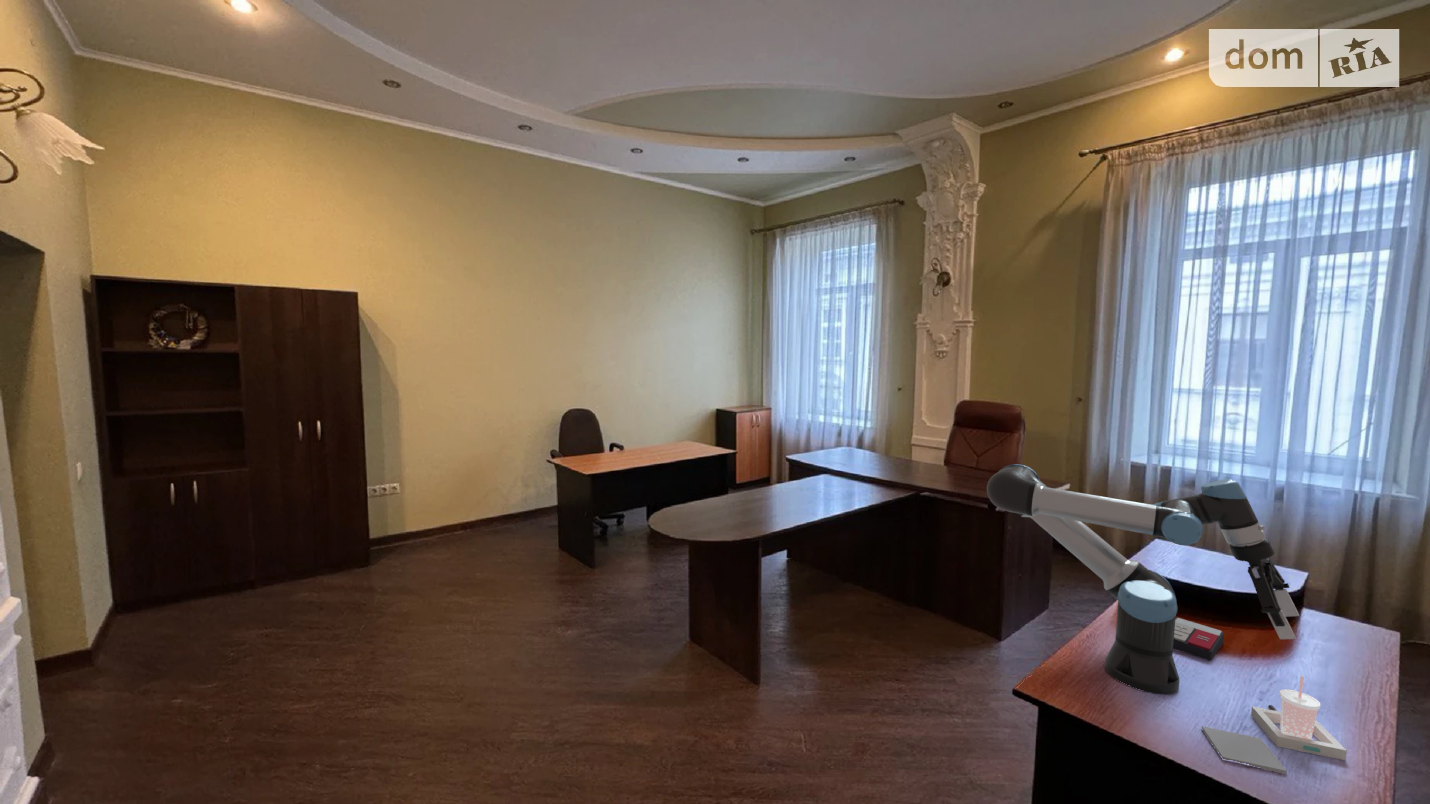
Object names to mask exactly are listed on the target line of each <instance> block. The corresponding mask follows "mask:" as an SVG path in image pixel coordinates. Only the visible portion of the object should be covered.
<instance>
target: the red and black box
mask: <svg viewBox="0 0 1430 804" xmlns="http://www.w3.org/2000/svg"><path fill="white" fill-rule="evenodd" d="M1224 636H1225V632H1224V631H1222V630H1220V629H1217V628H1213V627H1211V626H1207V625H1203V624H1200V623H1197V622H1194V621H1191V620H1190V621H1189V620H1186V619H1184V618H1180V617H1176V619H1175V631H1174V642H1173V650H1177V651H1179V652H1182V653H1185V654H1189V655H1192V656H1194V657H1197V658H1201V659H1204V660H1207V661H1209V662H1211V661H1212V660H1213V659H1214V657H1215V656H1216V654H1217V653H1218V651H1219V650H1220V649H1221V647H1222V646H1223V644H1224V640H1225V639H1224Z"/></svg>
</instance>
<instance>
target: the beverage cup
mask: <svg viewBox="0 0 1430 804" xmlns="http://www.w3.org/2000/svg"><path fill="white" fill-rule="evenodd" d="M1304 678H1305V676H1304V675H1301V674H1300V678H1299V687H1298V691H1297V690H1294V689H1288V688H1287V689H1286V688H1285V689H1281V690H1279V697H1280V712H1281V724H1280V731H1281V733H1282V734H1285V735H1290V736H1295V737H1300V738H1305V739H1310V740H1313V730H1314V726H1315V721H1316V720H1317V716H1318V711H1319V710H1320V709H1321V702H1320V701H1319V700H1318V699H1316V698H1315V697H1313V696H1311V695H1309V694H1307V693H1304V692H1303V690H1304V689H1303V686H1304Z"/></svg>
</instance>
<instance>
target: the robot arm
mask: <svg viewBox="0 0 1430 804" xmlns="http://www.w3.org/2000/svg"><path fill="white" fill-rule="evenodd" d="M1200 490H1201V493H1199V494H1195V495H1194V494H1193V495H1190V496H1184V497H1178V498H1175V499H1169V500H1162V501H1161V502H1156V503H1152V504H1149V503H1143V502H1138V501H1137V502H1136V501H1131V500H1124V499H1120V498H1119V499H1118V498H1114V497H1113V498H1112V497H1109V496H1108V497H1106V496H1101V495H1095V494H1089V493H1082V492H1077V491H1071V490H1065V489H1060V488H1052V487H1048V486H1047V485H1046V484H1045V483H1044V482H1042V481H1041V480H1040V477H1039V475H1038V474H1037V472H1036V471H1035V470H1034V469H1032V468H1031V467H1029V466H1028V465H1024V464H1019V463H1018V464H1016V463H1015V464H1009V465H1006V466H1004V467H1002V468H1001V469H1000V470H998V472H996V473H995V474H993V475H992V476H991V477H990V478H989V480H988V481H987V485H986V493H987V497H988V499H989V501H990V502H991V503H992V504H993V506H995V507H997V509H1000V510H1003V511H1006V512H1009V513H1015V514H1018V515H1019V516H1021V518H1030V519H1032V520H1033V521H1034V522H1035V523H1036V524H1038V526H1039V527H1040V528H1042V529H1043V530H1044V531H1046V532H1047V533H1048V534H1049V535H1050V536H1051V537H1053V538H1054V539H1055V541H1057V542H1058V543H1059V544H1061V546H1063V547H1064V548H1065V549H1066V550H1067V551H1069V552H1070V553H1071V554H1072V555H1073V556H1074V557H1076V558H1077V559H1078V561H1080V562H1081V563H1082V564H1083V565H1085V566H1086V567H1087V568H1088V569H1090V570H1091V571H1092V572H1093V573H1094V574H1095V575H1096V576H1097V577H1099V578H1100V579H1101V580H1102V582H1103V587H1104V590H1105V591H1107V592H1108V593H1109V594H1110V595H1111V596H1112V597H1114V599H1116V600H1117V611H1116V624H1115V625H1116V626H1115V638H1114V639H1115V640H1114V642H1113V644H1112V645H1111V647H1110V649H1109V651H1108V653H1107V655H1106V656H1105V663H1104V664H1105V665H1104V668H1106V669H1105V670H1107V671H1106V672H1107V673H1108V675H1110V676H1111V675H1112V676H1113V677H1114V678H1113V677H1112V676H1111V677H1112V678H1113V679H1115V678H1116V679H1117V680H1116V679H1115V680H1116V681H1118V680H1119V681H1118V682H1120V681H1121V682H1123V683H1125V684H1127V685H1126V686H1128V685H1130V686H1131V688H1133V687H1134V688H1133V689H1135V688H1137V689H1136V690H1138V689H1140V690H1139V691H1141V690H1142V691H1143V692H1145V693H1149V692H1151V694H1155V695H1171V694H1175V693H1177V692H1178V691H1179V688H1180V682H1181V681H1180V676H1179V673H1178V669H1177V666H1176V664H1175V659H1174V657H1173V654H1174V653H1173V652H1174V649H1173V642H1174V631H1175V619H1176V618H1177V616H1176V615H1177V613H1178V604H1177V598H1176V593H1175V591H1174V589H1173V587H1172V585H1171V583H1170V582H1169V581H1168V580H1167V579H1166V578H1165V577H1164V576H1163V575H1161V574H1160V573H1159V572H1157V571H1155V570H1152V569H1148V568H1147V567H1146V566H1144V565H1143V564H1142V563H1141V562H1139V561H1138V560H1133V559H1127V558H1126V557H1125V556H1124V555H1122V554H1121V553H1120V552H1119V551H1117V549H1115V548H1114V547H1113V546H1111V545H1110V544H1109V543H1108V542H1107V541H1105V539H1103V538H1102V537H1101V536H1100V535H1099V534H1097V533H1096V532H1094V531H1093V530H1092V529H1091V528H1090V527H1088V526H1087V525H1086V524H1085V523H1087V524H1090V525H1091V524H1094V525H1098V526H1102V527H1108V528H1114V529H1118V530H1123V531H1129V532H1134V533H1139V534H1145V535H1150V536H1156V537H1159V538H1165V539H1166V540H1168V541H1169V542H1172V543H1173V544H1176V545H1180V546H1189V545H1193V544H1196V543H1197V542H1199V541H1200V540H1201V538H1202V535H1203V532H1204V527H1203V526H1204V525H1209V524H1213V523H1217V525H1218V526H1219V527H1218V528H1219V529H1220V531H1221V533H1222V535H1223V537H1224V539H1225V541H1226V542H1225V543H1227V544H1229V549H1230V551H1231V553H1232V555H1233V557H1234V559H1235V560H1237V561H1239V562H1247V563H1248V565H1249V566H1247V568H1248V569H1247V573H1248V574H1249V577H1250V578H1251V581H1252V584H1253V587H1254V590H1255V592H1256V594H1257V595H1256V596H1257V597H1258V600H1259V603H1260V605H1261V609H1260V611H1261V613H1262V614H1263V613H1266V614H1267V615H1268V618H1269V620H1270V622H1271V624H1272V626H1273V628H1274V630H1275V632H1276V634H1277V636H1278V638H1279V640H1296V635H1295V633H1294V631H1293V629H1292V627H1291V625H1290V623H1289V621H1288V619H1287V617H1300V613H1299V611H1298V609H1297V607H1296V606H1295V603H1294V602H1293V600H1292V598H1291V595H1290V594H1289V592H1288V590H1287V589H1290V584H1289V583H1287V582H1286V580H1285V579H1284V578H1283V576H1282V575H1281V573H1280V572H1279V570H1278V569H1277V567H1276V566H1275V565H1274V562H1273V561H1272V560H1271V559H1270V558H1271V557H1273V556H1274V555H1275V551H1274V549H1273V547H1272V546H1271V543H1270V541H1269V540H1268V539H1266V534H1265V532H1264V530H1265V529H1266V527H1265V525H1261V524H1260V522H1259V520H1258V518H1257V516H1256V514H1255V512H1254V510H1253V508H1252V505H1251V503H1250V501H1249V499H1248V497H1247V495H1246V493H1245V492H1244V490H1243V488H1242V486H1241V485H1240V484H1239V482H1238V481H1236V480H1234V479H1230V478H1229V479H1219V480H1213V481H1211V482H1207V483H1204V484H1202V486H1201V487H1200ZM1285 582H1286V583H1285ZM1121 682H1120V683H1121ZM1123 683H1122V684H1123ZM1125 684H1124V685H1125ZM1130 686H1129V687H1130Z"/></svg>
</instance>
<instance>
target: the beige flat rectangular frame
mask: <svg viewBox="0 0 1430 804" xmlns="http://www.w3.org/2000/svg"><path fill="white" fill-rule="evenodd" d="M1250 715H1251V717H1252V718H1253V720H1254V721H1255V722H1256V724H1258V725H1259V727H1260V728H1261V729H1262V730H1263V731H1264V733H1265V734H1266V735H1267V736H1268V738H1269V739H1270V740H1271V741H1272V742H1273V743H1274V745H1275V746H1276V747H1280V748H1283V749H1289V750H1293V751H1297V752H1303V753H1308V754H1312V755H1313V754H1314V755H1319V756H1322V757H1327V758H1331V759H1337V760H1342V761H1347V755H1348V754H1347V753H1348V750H1347V749H1346V748H1345V747H1344V745H1342V744H1341V743H1340V742H1339V741H1338V740H1337V739H1336V738H1335V737H1334V736H1333V735H1332V734H1331V733H1330V732H1329V731H1328V730H1327V729H1326V728H1325V727H1324V726H1323V725H1322V724H1321V723H1320V722H1319V721H1318V720H1317V719H1316V721H1315V726H1314V730H1313V735H1314V737H1315V738H1316V739H1317V740H1314V739H1311V740H1310V739H1305V738H1300V737H1295V736H1290V735H1285V734H1282V733H1281V729H1279V728H1278V727H1277V726H1276V725H1275V724H1278V725H1281V711H1280V710H1279V711H1278V710H1277V708H1275V706H1273V705H1272V704H1268V706H1267V708H1263V707H1258V706H1253V705H1252V706H1251V711H1250ZM1313 735H1312V736H1313Z"/></svg>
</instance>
